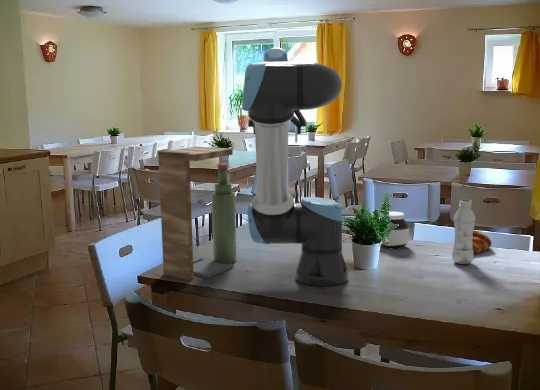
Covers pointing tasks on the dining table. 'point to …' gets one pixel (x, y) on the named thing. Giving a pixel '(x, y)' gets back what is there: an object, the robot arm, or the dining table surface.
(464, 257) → the plastic bottle
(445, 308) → the dining table surface
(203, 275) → the seat pad
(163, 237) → the shelf
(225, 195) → the wine bottle
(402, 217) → the spread jar
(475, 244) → the croissant
